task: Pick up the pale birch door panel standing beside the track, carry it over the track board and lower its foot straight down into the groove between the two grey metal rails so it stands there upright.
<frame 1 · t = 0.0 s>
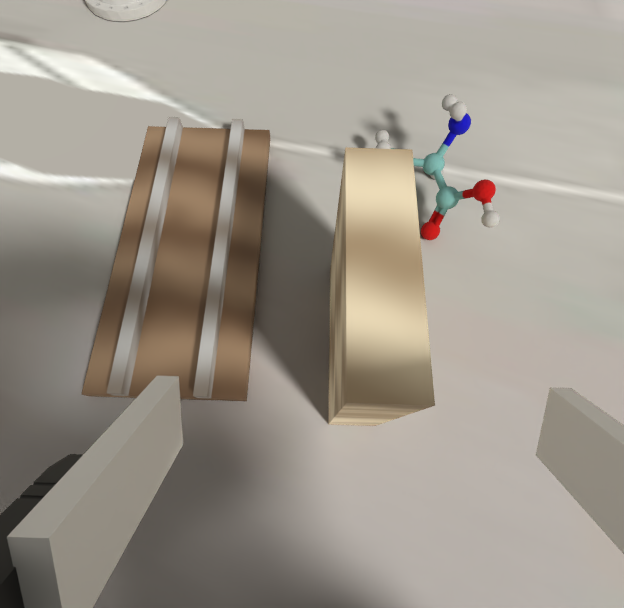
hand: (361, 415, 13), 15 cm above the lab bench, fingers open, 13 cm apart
door panel: (351, 340, 30), on the lab bench
molecular model: (422, 193, 36), on the lab bench
track board: (192, 248, 33), on the lab bench
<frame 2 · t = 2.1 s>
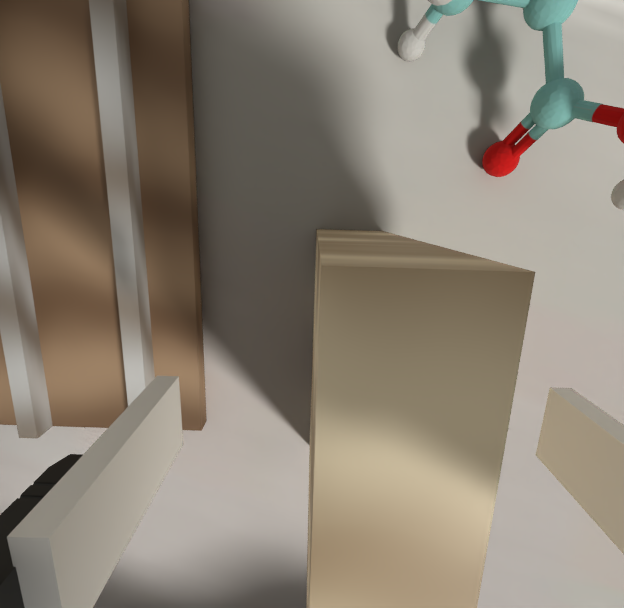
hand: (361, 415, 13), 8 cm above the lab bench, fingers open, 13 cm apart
door panel: (343, 346, 21), on the lab bench
molecular model: (504, 54, 18), on the lab bench
track board: (81, 192, 19), on the lab bench
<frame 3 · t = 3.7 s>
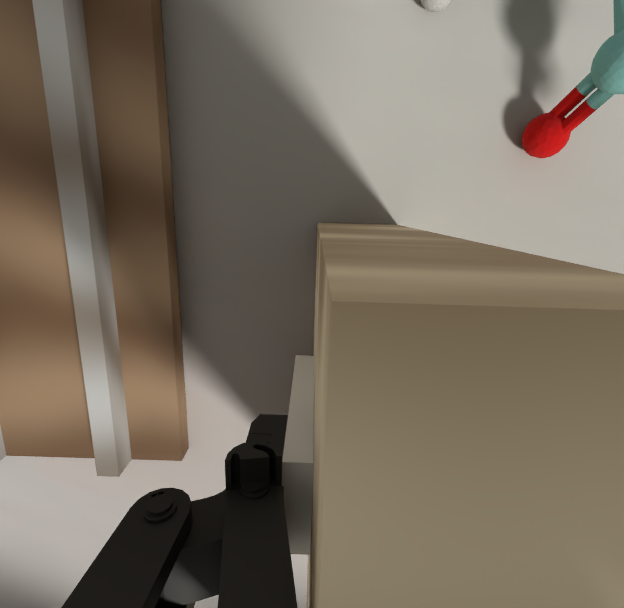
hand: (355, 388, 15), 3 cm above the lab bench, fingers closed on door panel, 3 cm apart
door panel: (349, 361, 18), on the lab bench, touching gripper
molecular model: (551, 4, 14), on the lab bench
track board: (30, 177, 16), on the lab bench
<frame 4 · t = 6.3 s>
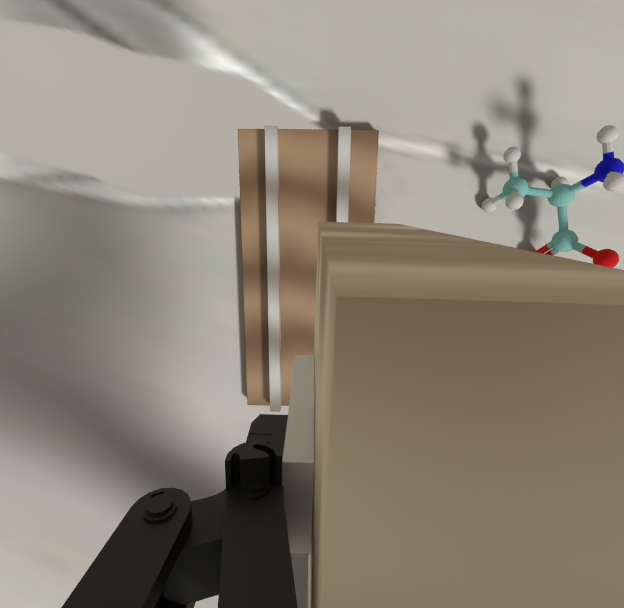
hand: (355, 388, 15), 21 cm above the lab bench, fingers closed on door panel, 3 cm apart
door panel: (350, 361, 18), point 19 cm above the lab bench, touching gripper
molecular model: (536, 205, 34), on the lab bench
track board: (307, 278, 36), on the lab bench
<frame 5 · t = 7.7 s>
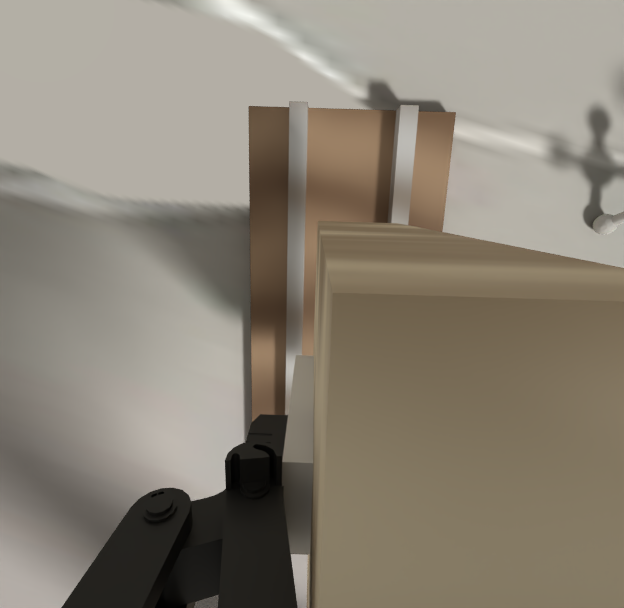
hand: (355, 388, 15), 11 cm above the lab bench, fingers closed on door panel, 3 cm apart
door panel: (349, 360, 18), point 8 cm above the lab bench, touching gripper
track board: (340, 319, 26), on the lab bench
when the fingers open (4 cm above the lab bench, at t = 9.0 s): door panel stays where it is, resting on track board.
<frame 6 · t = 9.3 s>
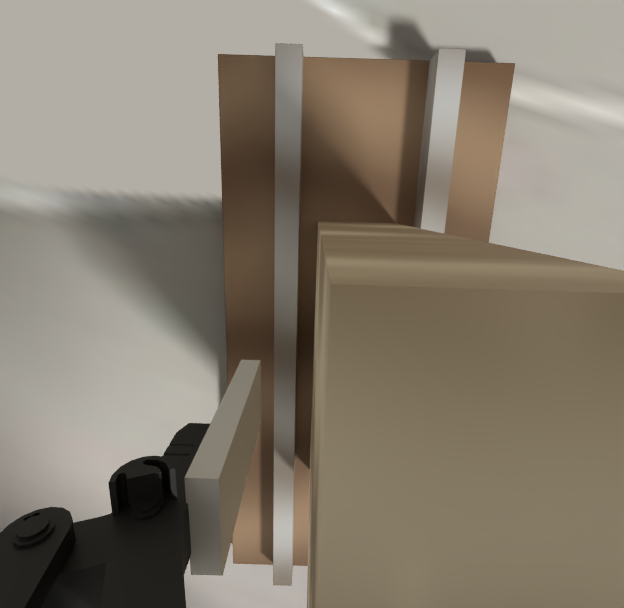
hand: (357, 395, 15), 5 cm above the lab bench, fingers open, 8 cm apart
door panel: (349, 357, 18), point 1 cm above the lab bench, touching track board
track board: (347, 350, 19), on the lab bench
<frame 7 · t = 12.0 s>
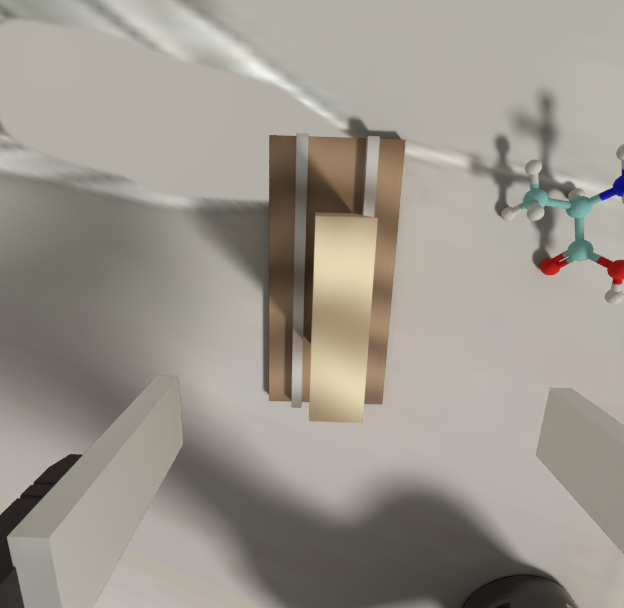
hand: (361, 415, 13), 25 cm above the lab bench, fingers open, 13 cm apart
door panel: (331, 281, 36), point 1 cm above the lab bench, touching track board
molecular model: (553, 214, 36), on the lab bench
track board: (330, 280, 37), on the lab bench
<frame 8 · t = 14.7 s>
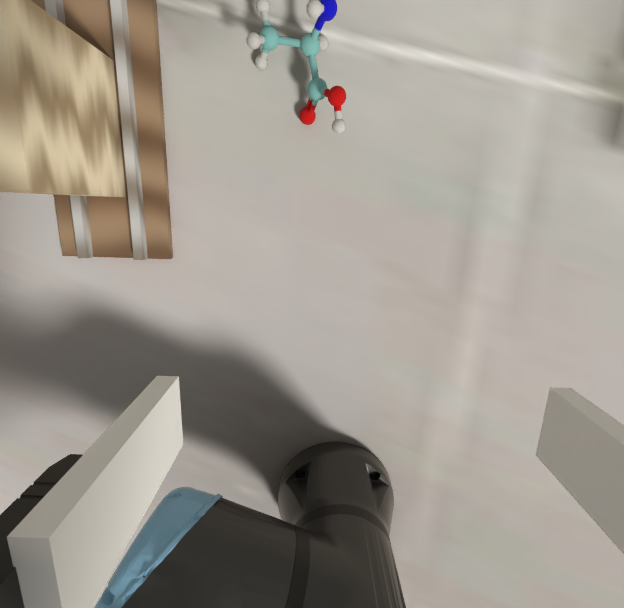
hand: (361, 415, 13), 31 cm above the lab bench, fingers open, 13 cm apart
door panel: (103, 131, 38), point 1 cm above the lab bench, touching track board
molecular model: (308, 66, 38), on the lab bench
track board: (108, 133, 39), on the lab bench
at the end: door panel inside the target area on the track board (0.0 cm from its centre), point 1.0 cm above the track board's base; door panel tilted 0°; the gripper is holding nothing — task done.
